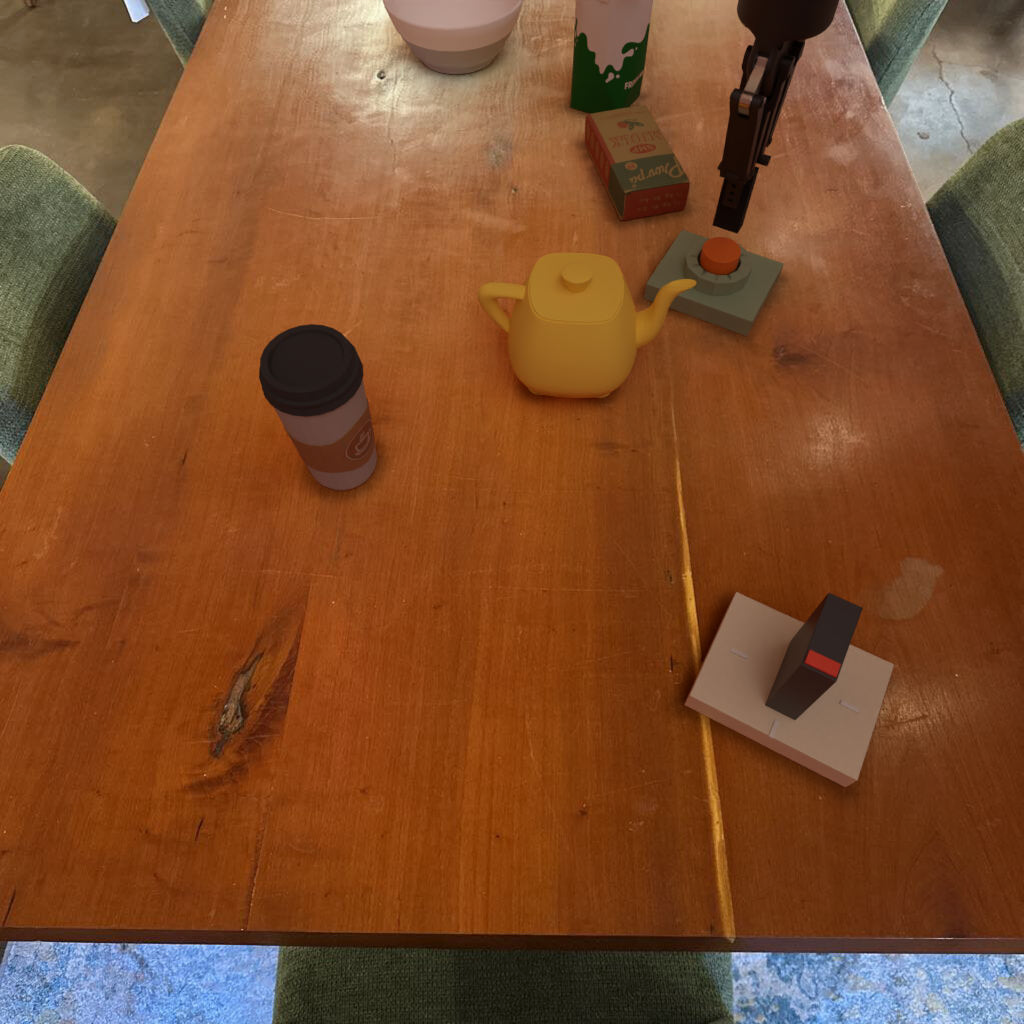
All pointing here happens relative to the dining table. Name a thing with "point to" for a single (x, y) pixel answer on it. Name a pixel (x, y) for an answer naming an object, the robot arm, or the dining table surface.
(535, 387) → the teapot
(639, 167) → the carton
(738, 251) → the button
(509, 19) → the bowl
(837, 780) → the panel
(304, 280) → the dining table surface
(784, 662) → the dark grey rectangular block
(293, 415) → the coffee cup
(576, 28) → the milk carton
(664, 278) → the housing
